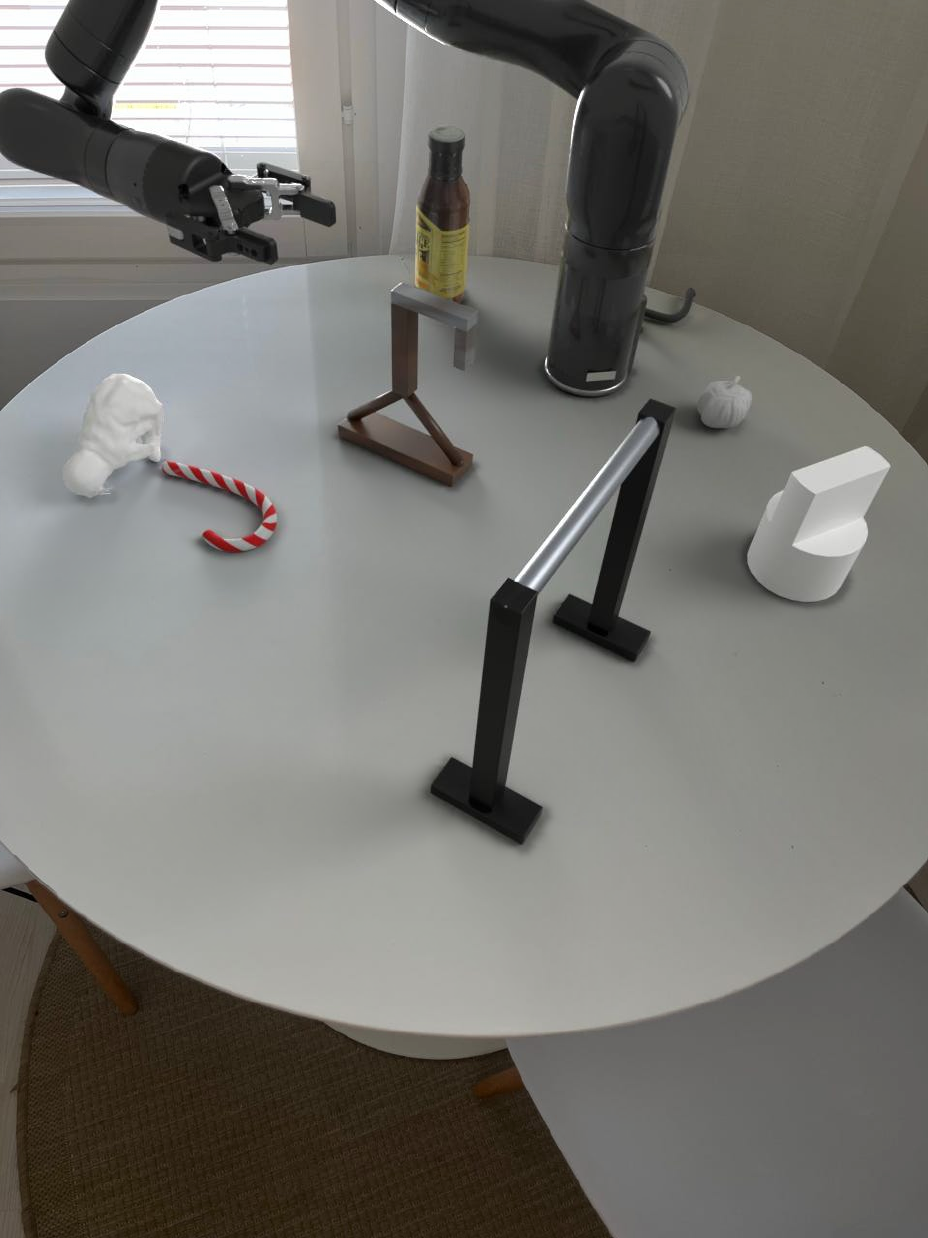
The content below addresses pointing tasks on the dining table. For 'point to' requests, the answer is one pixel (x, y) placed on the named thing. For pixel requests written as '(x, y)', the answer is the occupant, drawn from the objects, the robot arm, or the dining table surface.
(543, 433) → the dining table surface
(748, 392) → the garlic
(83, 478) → the white lumpy figurine
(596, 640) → the rail
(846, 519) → the cylinder with rectangular tab
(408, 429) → the hanger
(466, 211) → the sauce bottle
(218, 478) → the candy cane
